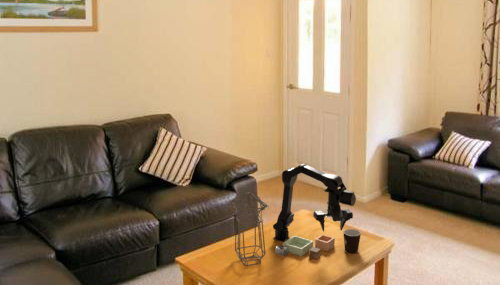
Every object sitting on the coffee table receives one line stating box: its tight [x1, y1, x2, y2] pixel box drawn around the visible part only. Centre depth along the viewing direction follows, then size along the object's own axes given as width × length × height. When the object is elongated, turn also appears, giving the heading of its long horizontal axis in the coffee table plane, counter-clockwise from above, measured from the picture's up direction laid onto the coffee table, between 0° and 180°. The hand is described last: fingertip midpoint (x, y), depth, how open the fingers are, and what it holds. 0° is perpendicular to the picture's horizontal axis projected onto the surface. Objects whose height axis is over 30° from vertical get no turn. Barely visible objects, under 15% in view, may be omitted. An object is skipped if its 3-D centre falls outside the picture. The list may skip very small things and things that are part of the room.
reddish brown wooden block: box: [274, 244, 289, 257], centre depth 253 cm, size 5×4×4 cm
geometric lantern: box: [229, 191, 269, 267], centre depth 242 cm, size 16×16×35 cm
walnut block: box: [308, 246, 321, 260], centre depth 249 cm, size 4×4×4 cm
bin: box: [282, 235, 314, 257], centre depth 257 cm, size 11×11×4 cm
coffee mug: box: [342, 228, 362, 255], centre depth 256 cm, size 12×9×10 cm
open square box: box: [314, 234, 336, 253], centre depth 259 cm, size 7×7×5 cm
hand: (332, 230), depth 251 cm, fingers open, 9 cm apart
